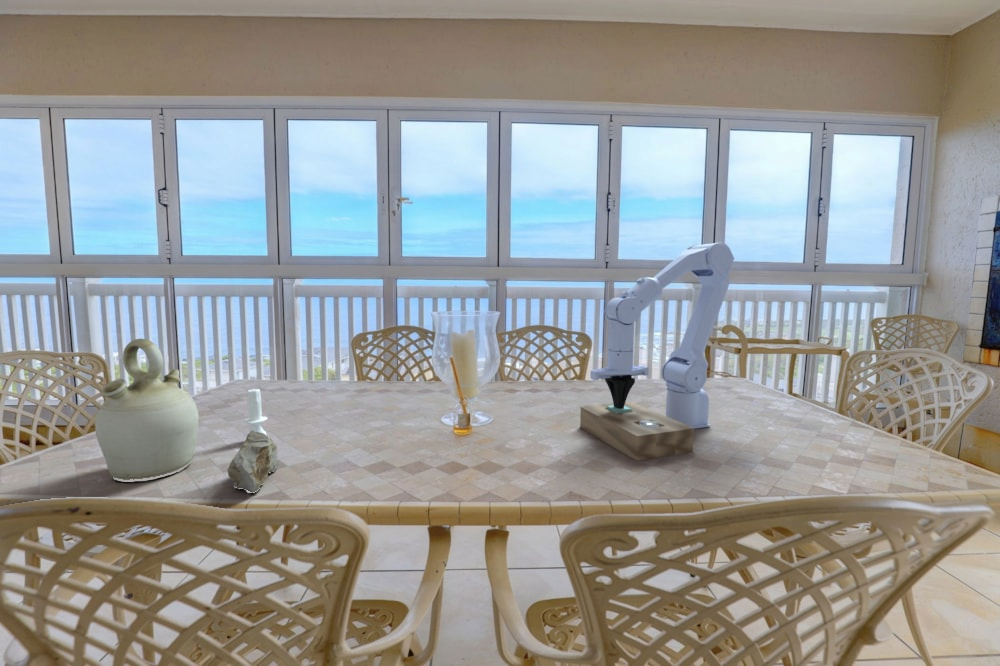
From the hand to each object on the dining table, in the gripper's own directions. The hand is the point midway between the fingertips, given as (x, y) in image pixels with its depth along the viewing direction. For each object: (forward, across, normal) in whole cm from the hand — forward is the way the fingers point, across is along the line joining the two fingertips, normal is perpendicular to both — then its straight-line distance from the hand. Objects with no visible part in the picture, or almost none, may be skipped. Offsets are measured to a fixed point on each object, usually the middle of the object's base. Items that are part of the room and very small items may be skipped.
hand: (618, 407), depth 109 cm
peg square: (+5, 0, 0) cm, 5 cm away
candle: (+6, +79, -22) cm, 82 cm away
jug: (+6, +95, -12) cm, 96 cm away
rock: (+6, +77, +2) cm, 77 cm away
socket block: (+6, 0, +6) cm, 8 cm away
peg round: (+6, 0, +11) cm, 12 cm away
